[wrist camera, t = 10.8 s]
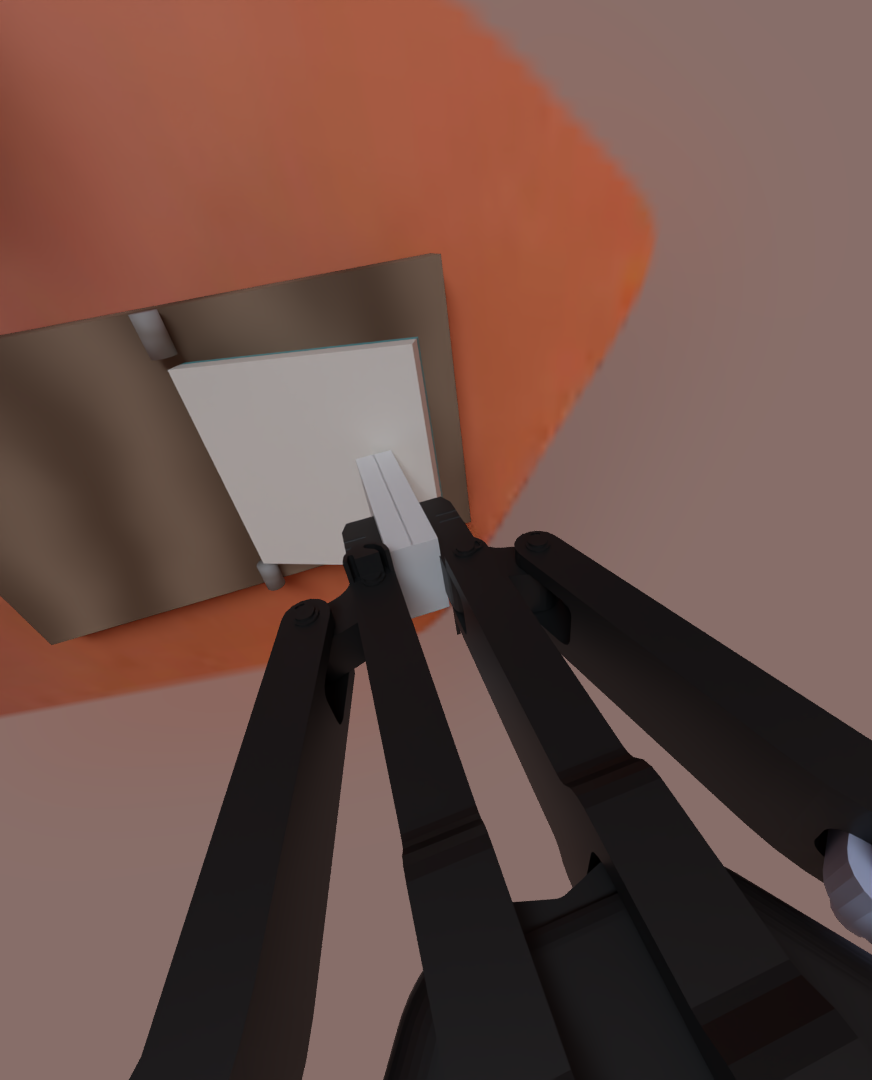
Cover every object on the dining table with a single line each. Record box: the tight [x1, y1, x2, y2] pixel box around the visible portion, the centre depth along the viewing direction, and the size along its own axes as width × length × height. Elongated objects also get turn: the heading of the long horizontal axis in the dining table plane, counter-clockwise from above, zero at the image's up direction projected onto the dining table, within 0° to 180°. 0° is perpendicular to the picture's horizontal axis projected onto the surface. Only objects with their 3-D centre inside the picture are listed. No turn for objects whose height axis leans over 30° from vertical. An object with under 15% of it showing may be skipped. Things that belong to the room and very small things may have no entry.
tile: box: [168, 337, 443, 565], centre depth 19 cm, size 10×10×1 cm
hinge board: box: [0, 253, 471, 645], centre depth 21 cm, size 24×14×2 cm, turn 99°
